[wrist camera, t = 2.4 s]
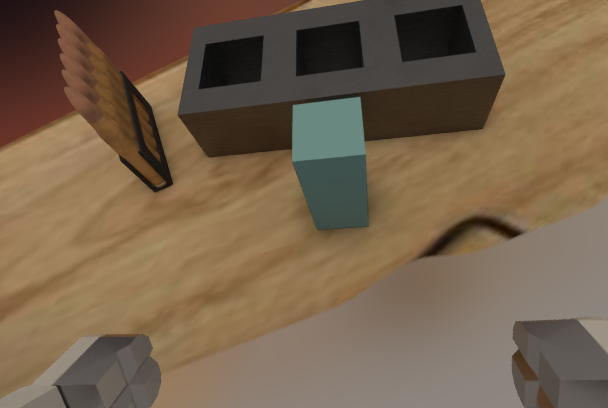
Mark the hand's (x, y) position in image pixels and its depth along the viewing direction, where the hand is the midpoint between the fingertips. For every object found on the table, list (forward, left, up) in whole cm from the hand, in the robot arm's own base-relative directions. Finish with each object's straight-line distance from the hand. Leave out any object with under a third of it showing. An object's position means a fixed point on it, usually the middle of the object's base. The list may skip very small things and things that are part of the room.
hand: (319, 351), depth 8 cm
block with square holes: (0, +23, -18) cm, 29 cm away
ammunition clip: (-18, +20, -18) cm, 33 cm away
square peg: (0, +12, -18) cm, 22 cm away
